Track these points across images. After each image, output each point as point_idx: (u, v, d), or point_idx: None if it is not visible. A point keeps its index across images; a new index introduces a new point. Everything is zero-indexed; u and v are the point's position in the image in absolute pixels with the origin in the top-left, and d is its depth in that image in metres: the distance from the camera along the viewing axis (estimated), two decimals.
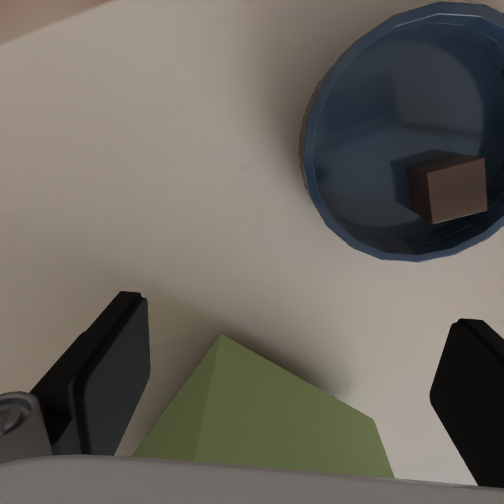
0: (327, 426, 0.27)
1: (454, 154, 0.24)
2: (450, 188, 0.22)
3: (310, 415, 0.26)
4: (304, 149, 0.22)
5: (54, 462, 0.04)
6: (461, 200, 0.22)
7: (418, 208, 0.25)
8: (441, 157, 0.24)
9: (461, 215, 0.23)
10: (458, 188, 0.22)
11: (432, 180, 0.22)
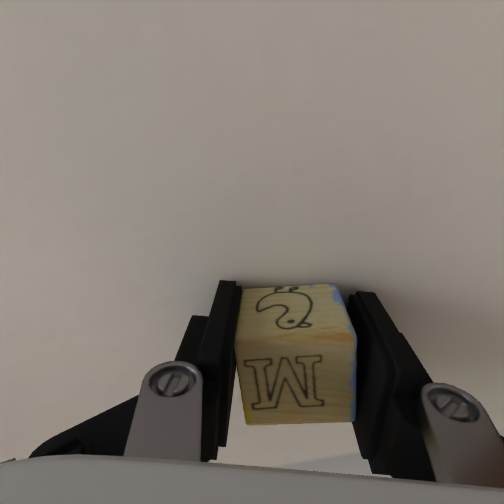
0: None
1: None
2: None
3: None
4: None
5: (54, 462, 0.04)
6: None
7: None
8: None
9: None
10: None
11: None
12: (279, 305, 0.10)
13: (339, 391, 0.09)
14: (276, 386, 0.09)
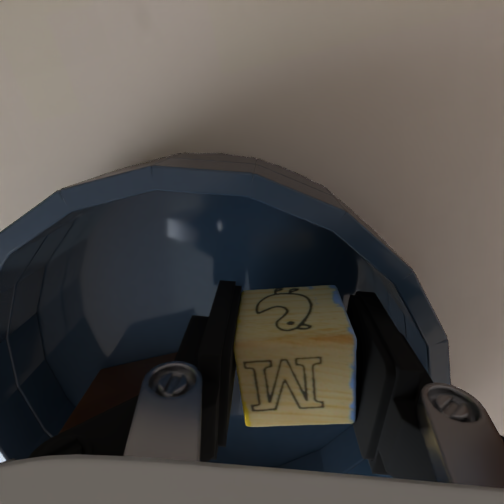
0: None
1: None
2: None
3: None
4: (177, 169, 0.08)
5: (54, 462, 0.04)
6: None
7: (97, 390, 0.13)
8: None
9: None
10: None
11: None
12: (279, 307, 0.10)
13: (338, 392, 0.09)
14: (276, 388, 0.09)
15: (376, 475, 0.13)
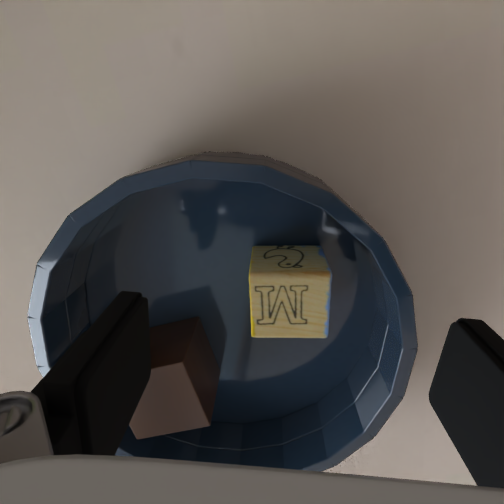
0: None
1: (217, 372, 0.18)
2: (163, 393, 0.14)
3: None
4: (209, 162, 0.11)
5: (54, 462, 0.04)
6: (147, 409, 0.15)
7: None
8: (213, 357, 0.17)
9: None
10: (163, 403, 0.15)
11: (172, 371, 0.14)
12: (280, 255, 0.14)
13: (317, 313, 0.13)
14: (275, 307, 0.13)
15: (361, 413, 0.15)
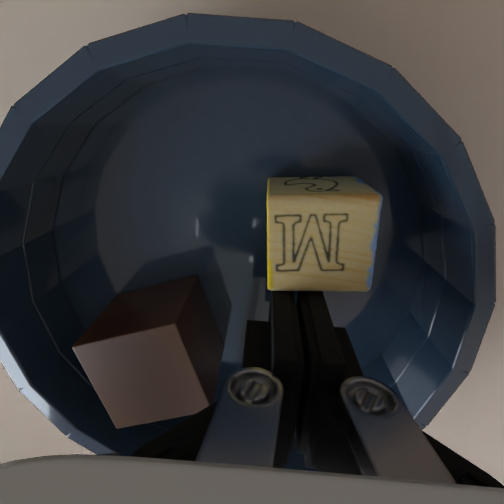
0: None
1: (220, 347, 0.14)
2: (149, 367, 0.11)
3: None
4: (214, 17, 0.08)
5: (54, 462, 0.04)
6: (129, 388, 0.11)
7: (115, 308, 0.13)
8: (215, 328, 0.14)
9: (98, 392, 0.11)
10: (150, 380, 0.11)
11: (161, 336, 0.10)
12: (306, 183, 0.11)
13: (359, 254, 0.10)
14: (302, 246, 0.10)
15: (407, 396, 0.12)
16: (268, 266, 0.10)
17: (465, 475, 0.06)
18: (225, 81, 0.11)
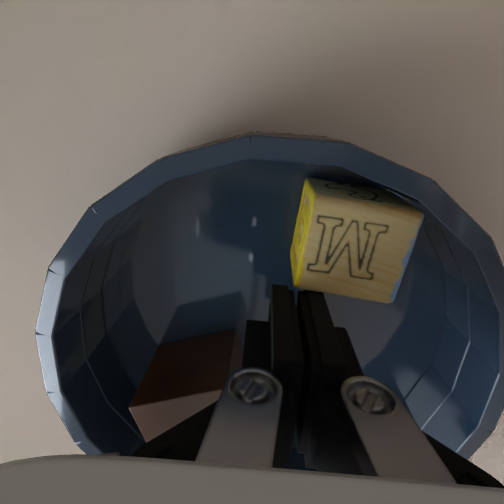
0: None
1: None
2: None
3: None
4: (275, 138, 0.09)
5: (54, 462, 0.04)
6: None
7: (161, 363, 0.14)
8: None
9: None
10: None
11: (212, 399, 0.11)
12: (346, 189, 0.11)
13: (390, 267, 0.10)
14: (337, 250, 0.10)
15: None
16: (300, 264, 0.10)
17: (465, 475, 0.06)
18: (268, 162, 0.12)
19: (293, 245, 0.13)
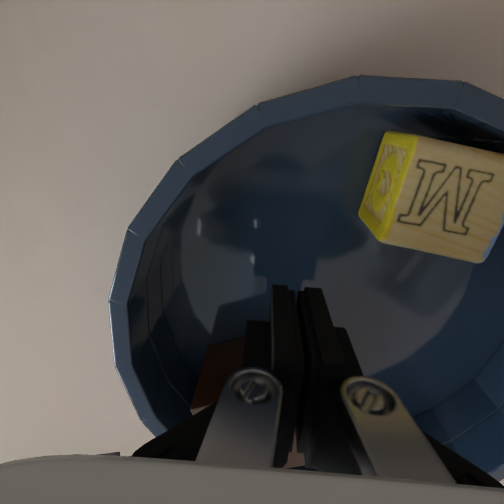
0: None
1: None
2: None
3: None
4: (385, 78, 0.08)
5: (54, 462, 0.04)
6: None
7: (215, 364, 0.13)
8: None
9: None
10: None
11: None
12: None
13: (488, 221, 0.09)
14: (434, 200, 0.09)
15: None
16: (390, 214, 0.09)
17: (465, 475, 0.06)
18: (344, 122, 0.11)
19: (364, 205, 0.12)
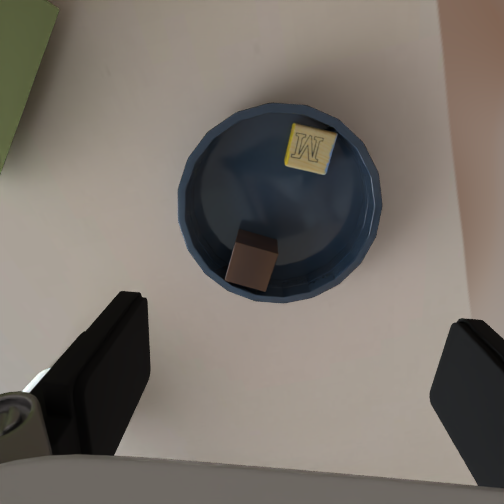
0: None
1: None
2: (257, 264, 0.27)
3: None
4: (280, 103, 0.23)
5: (54, 462, 0.04)
6: (243, 267, 0.27)
7: (244, 235, 0.29)
8: None
9: (230, 263, 0.27)
10: (253, 268, 0.27)
11: (270, 255, 0.27)
12: None
13: (324, 156, 0.25)
14: (303, 148, 0.24)
15: (353, 253, 0.28)
16: (288, 154, 0.25)
17: None
18: (276, 119, 0.27)
19: (286, 155, 0.27)
